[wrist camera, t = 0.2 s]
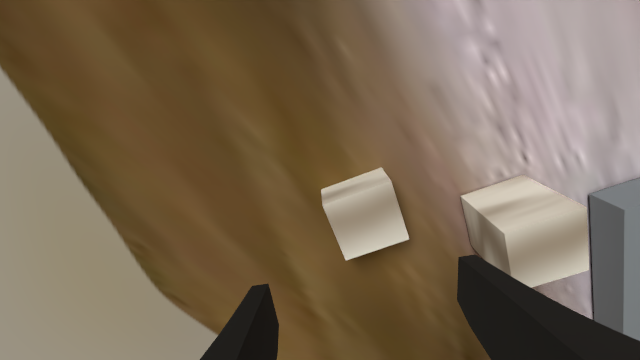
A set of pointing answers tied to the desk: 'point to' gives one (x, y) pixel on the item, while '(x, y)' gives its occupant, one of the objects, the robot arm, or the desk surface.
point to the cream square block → (528, 230)
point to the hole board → (616, 257)
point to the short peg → (364, 213)
